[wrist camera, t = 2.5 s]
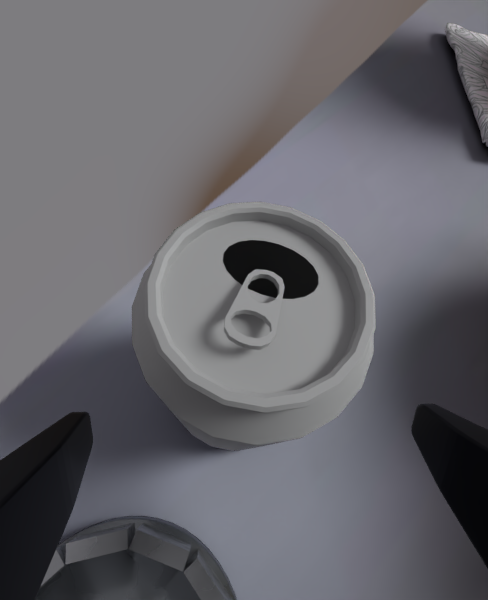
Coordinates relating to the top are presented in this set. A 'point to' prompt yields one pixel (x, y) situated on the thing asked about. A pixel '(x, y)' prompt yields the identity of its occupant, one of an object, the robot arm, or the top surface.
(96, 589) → the rosette plate
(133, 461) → the top surface
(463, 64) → the cookie jar
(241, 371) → the can
